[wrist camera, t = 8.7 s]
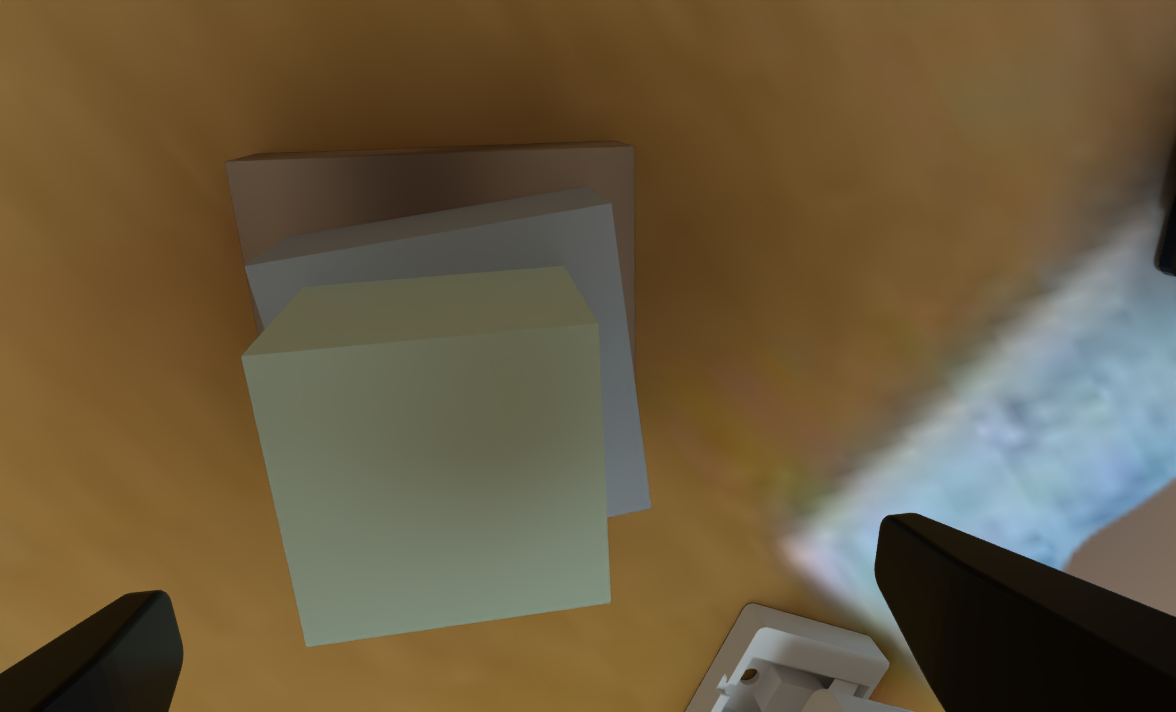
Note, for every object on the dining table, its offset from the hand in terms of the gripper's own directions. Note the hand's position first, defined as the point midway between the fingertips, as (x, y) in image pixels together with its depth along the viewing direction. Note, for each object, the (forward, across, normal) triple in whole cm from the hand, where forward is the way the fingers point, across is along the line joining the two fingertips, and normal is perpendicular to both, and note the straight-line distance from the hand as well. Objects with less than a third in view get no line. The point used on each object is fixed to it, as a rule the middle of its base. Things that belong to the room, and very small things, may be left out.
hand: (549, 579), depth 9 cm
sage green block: (+6, +1, 0) cm, 6 cm away
